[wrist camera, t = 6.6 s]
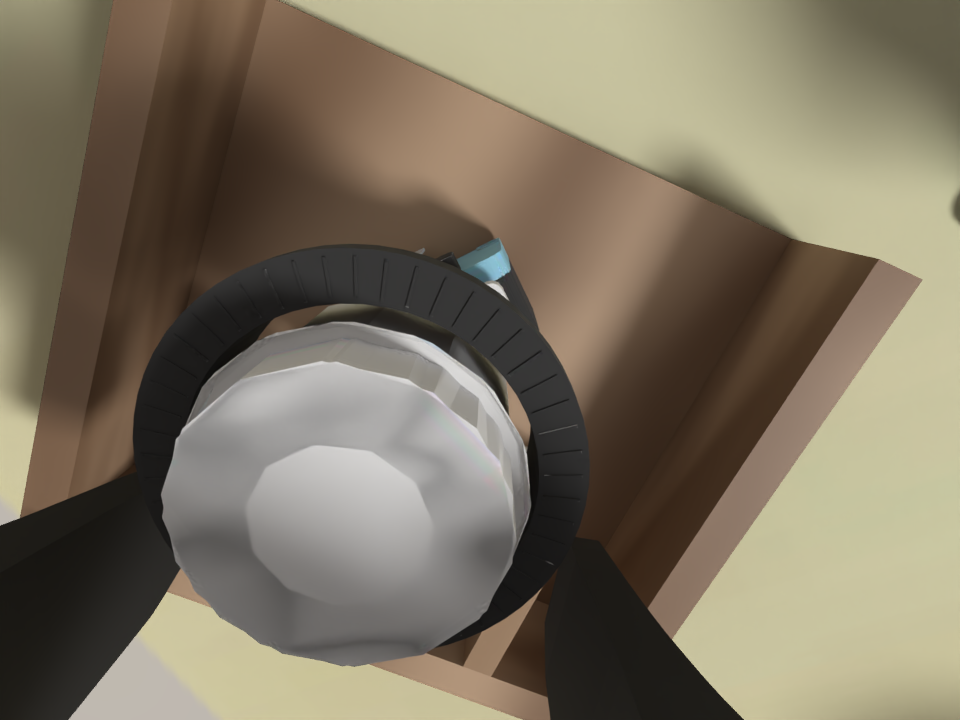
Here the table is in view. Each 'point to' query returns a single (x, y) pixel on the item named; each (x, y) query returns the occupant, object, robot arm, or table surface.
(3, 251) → the table surface
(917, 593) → the table surface
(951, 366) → the table surface
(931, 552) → the table surface
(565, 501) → the push button
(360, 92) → the walled box
